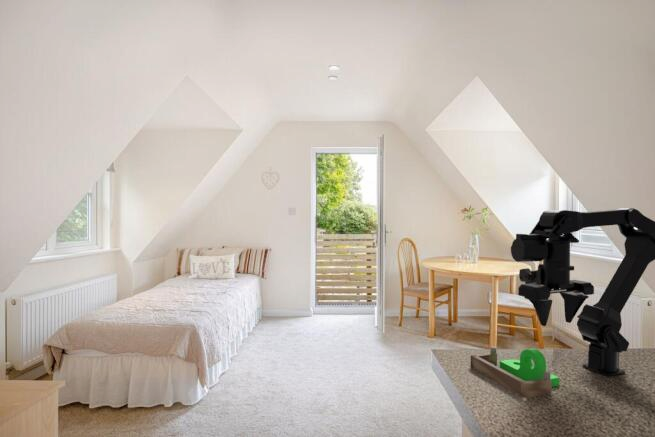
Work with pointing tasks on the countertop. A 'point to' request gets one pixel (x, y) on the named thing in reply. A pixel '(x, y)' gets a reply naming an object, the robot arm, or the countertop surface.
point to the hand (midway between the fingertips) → (555, 324)
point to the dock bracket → (510, 376)
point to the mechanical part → (528, 366)
